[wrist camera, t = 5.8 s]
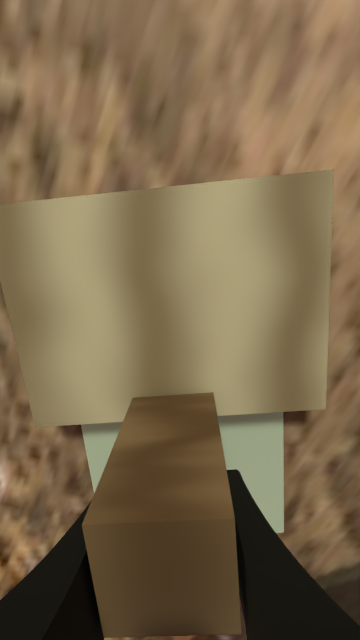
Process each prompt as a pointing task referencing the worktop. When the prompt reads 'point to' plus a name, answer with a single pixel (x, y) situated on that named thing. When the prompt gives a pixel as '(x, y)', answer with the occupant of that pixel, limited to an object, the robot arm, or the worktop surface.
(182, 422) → the walnut block
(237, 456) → the green mat
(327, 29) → the worktop surface
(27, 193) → the worktop surface
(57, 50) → the worktop surface
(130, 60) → the worktop surface
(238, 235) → the maple board
